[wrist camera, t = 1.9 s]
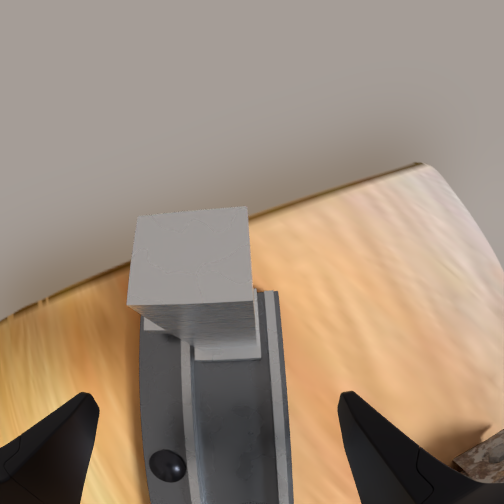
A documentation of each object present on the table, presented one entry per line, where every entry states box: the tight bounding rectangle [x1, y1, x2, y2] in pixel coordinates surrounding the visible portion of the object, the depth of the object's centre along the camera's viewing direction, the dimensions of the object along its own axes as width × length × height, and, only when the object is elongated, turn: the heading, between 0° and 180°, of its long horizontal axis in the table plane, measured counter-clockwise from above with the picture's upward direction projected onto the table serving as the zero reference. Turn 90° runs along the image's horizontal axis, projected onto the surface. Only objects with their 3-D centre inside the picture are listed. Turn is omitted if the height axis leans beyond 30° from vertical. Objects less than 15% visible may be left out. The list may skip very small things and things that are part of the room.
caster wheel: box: [453, 429, 504, 483], centre depth 9 cm, size 7×11×10 cm
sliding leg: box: [127, 206, 261, 362], centre depth 13 cm, size 4×7×11 cm, turn 94°
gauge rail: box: [139, 290, 294, 504], centre depth 13 cm, size 26×10×4 cm, turn 4°
